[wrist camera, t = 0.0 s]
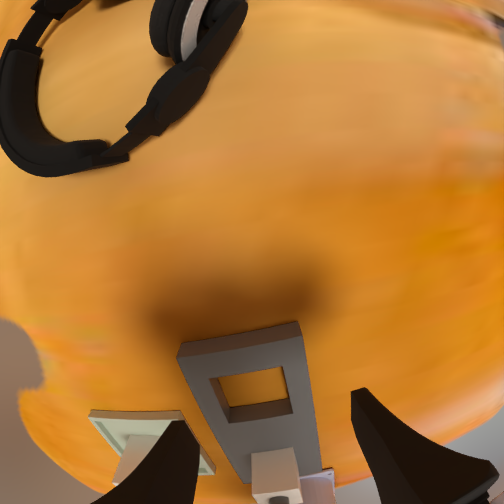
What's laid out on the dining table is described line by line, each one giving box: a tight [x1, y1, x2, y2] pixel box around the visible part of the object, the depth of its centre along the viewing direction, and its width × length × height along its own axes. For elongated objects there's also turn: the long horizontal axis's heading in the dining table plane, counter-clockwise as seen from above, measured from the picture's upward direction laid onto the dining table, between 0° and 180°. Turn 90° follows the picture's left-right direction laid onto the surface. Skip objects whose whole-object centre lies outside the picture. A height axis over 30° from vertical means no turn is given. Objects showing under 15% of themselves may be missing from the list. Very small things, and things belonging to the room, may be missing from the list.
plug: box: [112, 435, 160, 486], centre depth 20 cm, size 4×4×9 cm
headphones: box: [0, 0, 248, 177], centre depth 12 cm, size 18×8×20 cm
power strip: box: [176, 321, 323, 504], centre depth 19 cm, size 20×9×9 cm, turn 13°
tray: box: [88, 410, 216, 475], centre depth 24 cm, size 11×11×1 cm
